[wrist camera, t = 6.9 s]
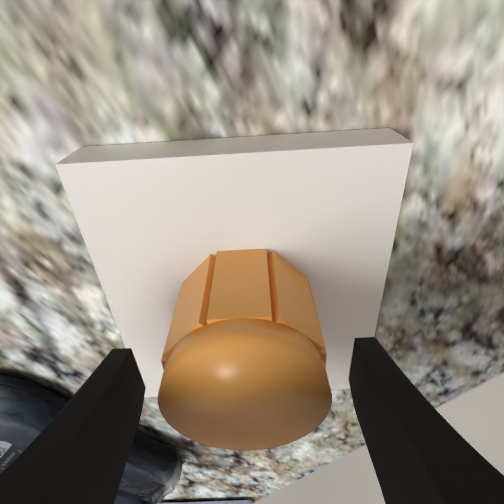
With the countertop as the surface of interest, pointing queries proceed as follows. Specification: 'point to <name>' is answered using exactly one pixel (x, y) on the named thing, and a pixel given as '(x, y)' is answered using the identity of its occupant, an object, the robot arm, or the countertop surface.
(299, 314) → the orange acorn nut
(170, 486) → the electronic device
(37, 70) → the countertop surface
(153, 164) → the white base plate
